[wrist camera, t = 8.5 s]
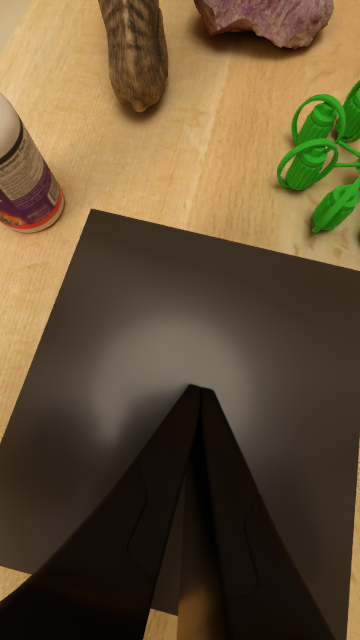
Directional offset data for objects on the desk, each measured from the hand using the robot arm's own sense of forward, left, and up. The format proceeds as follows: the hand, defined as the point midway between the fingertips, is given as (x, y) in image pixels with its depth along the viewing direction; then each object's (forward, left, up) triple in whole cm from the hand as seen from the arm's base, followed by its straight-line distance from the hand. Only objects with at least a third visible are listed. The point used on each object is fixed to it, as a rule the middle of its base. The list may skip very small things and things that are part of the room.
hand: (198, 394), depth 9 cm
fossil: (+32, -17, -10) cm, 38 cm away
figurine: (+30, -4, -10) cm, 32 cm away
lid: (0, 0, -3) cm, 3 cm away
